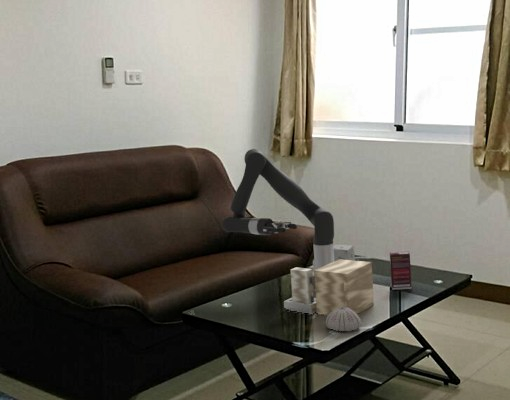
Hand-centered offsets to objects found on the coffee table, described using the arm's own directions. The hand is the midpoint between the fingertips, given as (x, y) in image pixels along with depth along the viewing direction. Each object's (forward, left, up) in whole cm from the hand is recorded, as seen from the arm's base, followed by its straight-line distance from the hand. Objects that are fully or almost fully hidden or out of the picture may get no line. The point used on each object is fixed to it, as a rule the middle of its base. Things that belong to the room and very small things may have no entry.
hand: (291, 228), depth 344 cm
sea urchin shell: (+42, -30, -30) cm, 60 cm away
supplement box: (+37, +28, -30) cm, 55 cm away
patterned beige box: (+30, -9, -30) cm, 43 cm away
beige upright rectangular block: (+15, -16, -29) cm, 36 cm away
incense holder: (-7, +53, -30) cm, 61 cm away
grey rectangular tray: (+15, -16, -30) cm, 37 cm away
